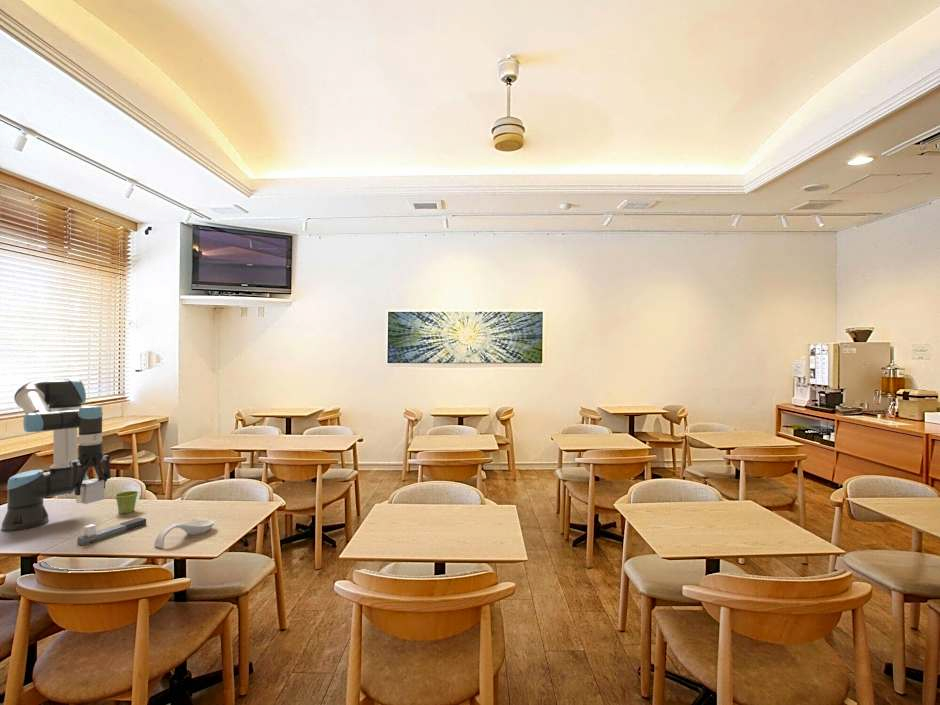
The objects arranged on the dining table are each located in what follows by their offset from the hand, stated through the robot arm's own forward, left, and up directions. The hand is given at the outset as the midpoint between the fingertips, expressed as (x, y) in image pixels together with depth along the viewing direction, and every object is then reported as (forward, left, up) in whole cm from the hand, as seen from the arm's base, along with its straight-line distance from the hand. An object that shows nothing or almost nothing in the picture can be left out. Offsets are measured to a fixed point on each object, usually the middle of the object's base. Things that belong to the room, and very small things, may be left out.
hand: (90, 499), depth 188 cm
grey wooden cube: (0, 0, 0) cm, 0 cm away
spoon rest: (+32, +18, -17) cm, 41 cm away
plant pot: (-24, +29, -17) cm, 41 cm away
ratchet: (0, +9, -17) cm, 19 cm away
